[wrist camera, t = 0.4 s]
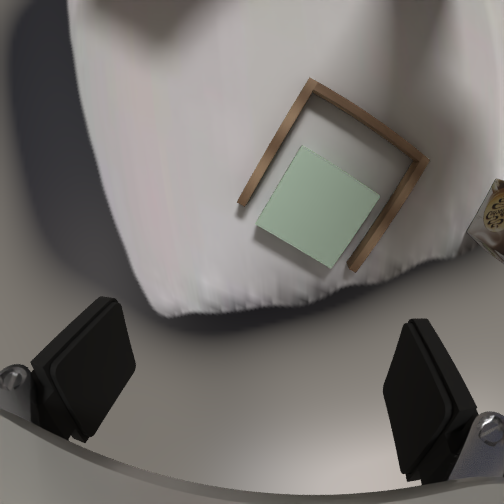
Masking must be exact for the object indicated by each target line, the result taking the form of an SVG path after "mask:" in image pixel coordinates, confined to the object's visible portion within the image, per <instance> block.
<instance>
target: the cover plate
mask: <svg viewBox="0 0 504 504" xmlns="http://www.w3.org/2000/svg"><path fill="white" fill-rule="evenodd" d="M379 198H380V196H379V195H378V194H377V193H375V192H374V191H372V190H371V189H369V188H368V187H367V186H365V185H364V184H362V183H361V182H359V181H358V180H356V179H355V178H353V177H352V176H350V175H349V174H347V173H346V172H344V171H343V170H341V169H340V168H338V167H337V166H335V165H333V164H332V163H330V162H329V161H327V160H325V159H324V158H322V157H321V156H319V155H317V154H316V153H314V152H312V151H311V150H309V149H308V148H306V147H304V146H301V147H300V149H299V151H298V152H297V154H296V156H295V157H294V159H293V161H292V162H291V164H290V166H289V167H288V169H287V171H286V172H285V174H284V176H283V177H282V179H281V181H280V182H279V184H278V186H277V187H276V189H275V191H274V192H273V194H272V196H271V198H270V199H269V201H268V203H267V204H266V206H265V208H264V209H263V211H262V213H261V214H260V216H259V218H258V220H257V222H256V225H257V226H259V227H261V228H263V229H264V230H266V231H268V232H269V233H271V234H273V235H275V236H276V237H278V238H280V239H281V240H283V241H285V242H287V243H288V244H290V245H292V246H293V247H295V248H297V249H298V250H300V251H302V252H304V253H305V254H307V255H309V256H310V257H312V258H314V259H315V260H317V261H319V262H320V263H322V264H324V265H325V266H327V267H329V268H330V269H331V268H332V267H333V265H334V264H335V263H336V261H337V260H338V258H339V257H340V256H341V254H342V253H343V251H344V250H345V248H346V247H347V246H348V244H349V243H350V241H351V240H352V238H353V237H354V235H355V234H356V232H357V231H358V229H359V228H360V227H361V225H362V224H363V222H364V221H365V219H366V218H367V216H368V215H369V213H370V211H371V210H372V208H373V207H374V205H375V204H376V202H377V201H378V199H379Z"/></svg>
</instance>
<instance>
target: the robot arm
mask: <svg viewBox="0 0 504 504" xmlns="http://www.w3.org/2000/svg"><path fill="white" fill-rule="evenodd" d="M31 365H32V367H33V369H34V370H33V371H32V372H30V370H29V369H28V367H26V366H24V365H21V364H14V365H10V366H8V367H6V368H4V369H3V370H2V371H0V504H504V416H503V415H501V414H499V413H496V412H484V413H481V414H480V415H479V414H478V412H477V410H476V408H477V406H476V404H475V402H474V400H473V398H472V396H471V394H470V392H469V391H468V388H467V387H466V384H465V383H464V381H463V379H462V377H461V375H460V373H459V371H458V370H457V368H456V366H455V364H454V362H453V361H452V359H451V357H450V355H449V354H448V352H447V350H446V348H445V347H444V345H443V343H442V342H441V340H440V338H439V337H438V335H437V333H436V332H435V330H434V328H433V327H432V326H431V324H430V322H429V320H428V319H410V320H409V321H408V323H405V324H404V325H403V328H402V331H401V334H400V338H399V341H398V344H397V347H396V351H395V354H394V357H393V360H392V362H391V365H390V368H389V371H388V374H387V377H386V380H385V382H384V385H383V395H384V399H385V403H386V407H387V411H388V415H389V419H390V423H391V428H392V432H393V437H394V441H395V446H396V450H397V456H398V461H399V466H400V471H401V473H402V474H406V479H407V482H410V481H415V480H420V479H421V483H422V485H421V486H415V487H409V488H403V489H396V490H388V491H379V492H368V493H357V494H340V495H290V494H273V493H261V492H251V491H242V490H234V489H228V488H221V487H215V486H209V485H204V484H199V483H194V482H190V481H185V480H181V479H176V478H172V477H169V476H165V475H161V474H157V473H154V472H150V471H147V470H143V469H140V468H137V467H134V466H131V465H128V464H125V463H122V462H119V461H116V460H114V459H111V458H108V457H105V456H103V455H100V454H98V453H95V452H93V451H90V450H88V449H86V448H83V447H81V446H79V445H76V444H74V443H72V442H70V441H69V437H70V436H72V437H73V438H74V439H76V440H79V441H81V442H84V443H86V441H87V440H88V438H89V437H92V436H93V435H94V434H95V433H96V431H97V429H98V428H99V426H100V425H101V423H102V421H103V420H104V418H105V417H106V415H107V413H108V412H109V410H110V409H111V407H112V405H113V404H114V402H115V401H116V399H117V398H118V396H119V395H120V393H121V391H122V390H123V388H124V387H125V385H126V384H127V382H128V381H129V379H130V378H131V376H132V375H133V373H134V371H135V367H136V363H135V359H134V355H133V352H132V348H131V344H130V340H129V336H128V332H127V328H126V324H125V319H124V315H123V311H122V306H121V304H119V303H118V301H117V300H116V299H115V298H109V297H103V296H102V297H99V298H98V299H96V300H95V301H94V302H93V303H92V304H91V305H90V306H89V307H88V308H87V309H85V310H84V311H83V312H82V313H81V314H80V315H79V316H78V317H77V318H76V319H75V320H73V321H72V322H71V323H70V324H69V325H68V326H67V327H66V328H65V329H64V330H63V331H62V332H61V333H60V334H58V336H56V337H55V338H54V339H53V340H52V341H51V342H50V343H49V344H48V345H47V346H46V347H45V348H44V349H43V350H42V351H41V352H40V353H39V354H38V355H37V356H36V357H35V358H34V359H33V360H32V361H31Z"/></svg>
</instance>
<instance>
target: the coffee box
mask: <svg viewBox="0 0 504 504" xmlns="http://www.w3.org/2000/svg"><path fill="white" fill-rule="evenodd" d="M467 233H468V234H469V235H470V236H471V237H472V238H473V239H474V240H475V241H476V242H477V243H478V244H479V245H480V246H481V247H482V248H483V249H484V250H486V251H487V252H488V253H489V254H491V255H492V256H494V257H495V258H496V259H498V260H499V261H501V262H502V263H503V264H504V181H503V180H500V179H495V181H494V183H493V185H492V187H491V189H490V191H489V193H488V195H487V197H486V198H485V200H484V202H483V204H482V206H481V208H480V209H479V211H478V213H477V215H476V216H475V218H474V220H473V222H472V223H471V225H470V227H469V228H468V230H467Z"/></svg>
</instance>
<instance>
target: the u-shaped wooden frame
mask: <svg viewBox="0 0 504 504" xmlns="http://www.w3.org/2000/svg"><path fill="white" fill-rule="evenodd" d="M312 92H313V93H314V94H316V95H318V96H320V97H321V98H323V99H325V100H326V101H328V102H330V103H331V104H333V105H335V106H336V107H338V108H340V109H341V110H343V111H344V112H346V113H347V114H349V115H351V116H352V117H354V118H355V119H357V120H358V121H360V122H361V123H363V124H364V125H366V126H367V127H369V128H370V129H372V130H373V131H374V132H376V133H377V134H379V135H380V136H382V137H383V138H384V139H386V140H387V141H388V142H390V143H391V144H393V145H394V146H395V147H397V148H398V149H399V150H401V151H402V152H403V153H404V154H406V155H407V156H408V157H410V158H411V159H412V160H413V162H412V164H411V165H410V167H409V169H408V170H407V172H406V173H405V175H404V177H403V178H402V180H401V182H400V183H399V185H398V186H397V188H396V190H395V191H394V193H393V194H392V196H391V197H390V199H389V201H388V202H387V204H386V205H385V207H384V208H383V210H382V211H381V213H380V214H379V216H378V217H377V219H376V220H375V222H374V223H373V225H372V226H371V228H370V229H369V231H368V232H367V234H366V235H365V237H364V238H363V240H362V241H361V242H360V244H359V245H358V247H357V248H356V250H355V251H354V252H353V254H352V255H351V257H350V258H349V259H348V261H347V265H348V267H349V269H350V270H352V271H354V272H355V273H356V272H357V270H358V269H359V268H360V266H361V265H362V263H363V262H364V261H365V259H366V258H367V257H368V255H369V254H370V252H371V251H372V249H373V248H374V247H375V245H376V244H377V242H378V241H379V239H380V238H381V237H382V235H383V234H384V232H385V231H386V229H387V228H388V226H389V225H390V223H391V222H392V220H393V219H394V217H395V216H396V214H397V213H398V211H399V210H400V208H401V207H402V205H403V204H404V202H405V200H406V199H407V197H408V196H409V194H410V192H411V191H412V189H413V188H414V186H415V184H416V183H417V181H418V180H419V178H420V176H421V175H422V173H423V171H424V170H425V168H426V166H427V164H428V163H429V161H430V160H429V159H428V158H427V157H426V156H425V155H423V154H422V153H421V152H420V151H419V150H417V149H416V148H415V147H414V146H412V145H411V144H410V143H409V142H407V141H406V140H405V139H403V138H402V137H401V136H399V135H398V134H397V133H395V132H394V131H393V130H391V129H390V128H389V127H387V126H386V125H384V124H383V123H382V122H380V121H379V120H377V119H376V118H375V117H373V116H372V115H370V114H369V113H367V112H366V111H364V110H363V109H361V108H360V107H358V106H357V105H355V104H354V103H352V102H350V101H349V100H347V99H346V98H344V97H342V96H341V95H339V94H337V93H336V92H334V91H332V90H331V89H329V88H327V87H326V86H324V85H322V84H320V83H319V82H317V81H315V80H313V79H312V78H309V79H308V81H307V83H306V84H305V86H304V87H303V89H302V91H301V92H300V94H299V96H298V97H297V99H296V101H295V102H294V104H293V106H292V107H291V109H290V111H289V112H288V114H287V116H286V117H285V119H284V121H283V122H282V124H281V126H280V127H279V129H278V131H277V132H276V134H275V136H274V138H273V139H272V141H271V143H270V144H269V146H268V148H267V150H266V151H265V153H264V155H263V157H262V158H261V160H260V162H259V163H258V165H257V167H256V169H255V171H254V172H253V174H252V176H251V178H250V179H249V181H248V183H247V185H246V186H245V188H244V190H243V192H242V194H241V195H240V197H239V199H238V201H237V203H239V204H241V205H243V206H244V207H245V205H246V204H247V203H248V201H249V199H250V198H251V196H252V194H253V192H254V191H255V189H256V187H257V185H258V184H259V182H260V180H261V178H262V177H263V175H264V173H265V171H266V170H267V168H268V166H269V165H270V163H271V161H272V159H273V158H274V156H275V154H276V153H277V151H278V149H279V147H280V146H281V144H282V142H283V141H284V139H285V137H286V136H287V134H288V132H289V131H290V129H291V127H292V125H293V124H294V122H295V120H296V119H297V117H298V115H299V114H300V112H301V110H302V109H303V107H304V105H305V104H306V102H307V101H308V99H309V97H310V96H311V94H312Z"/></svg>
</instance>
